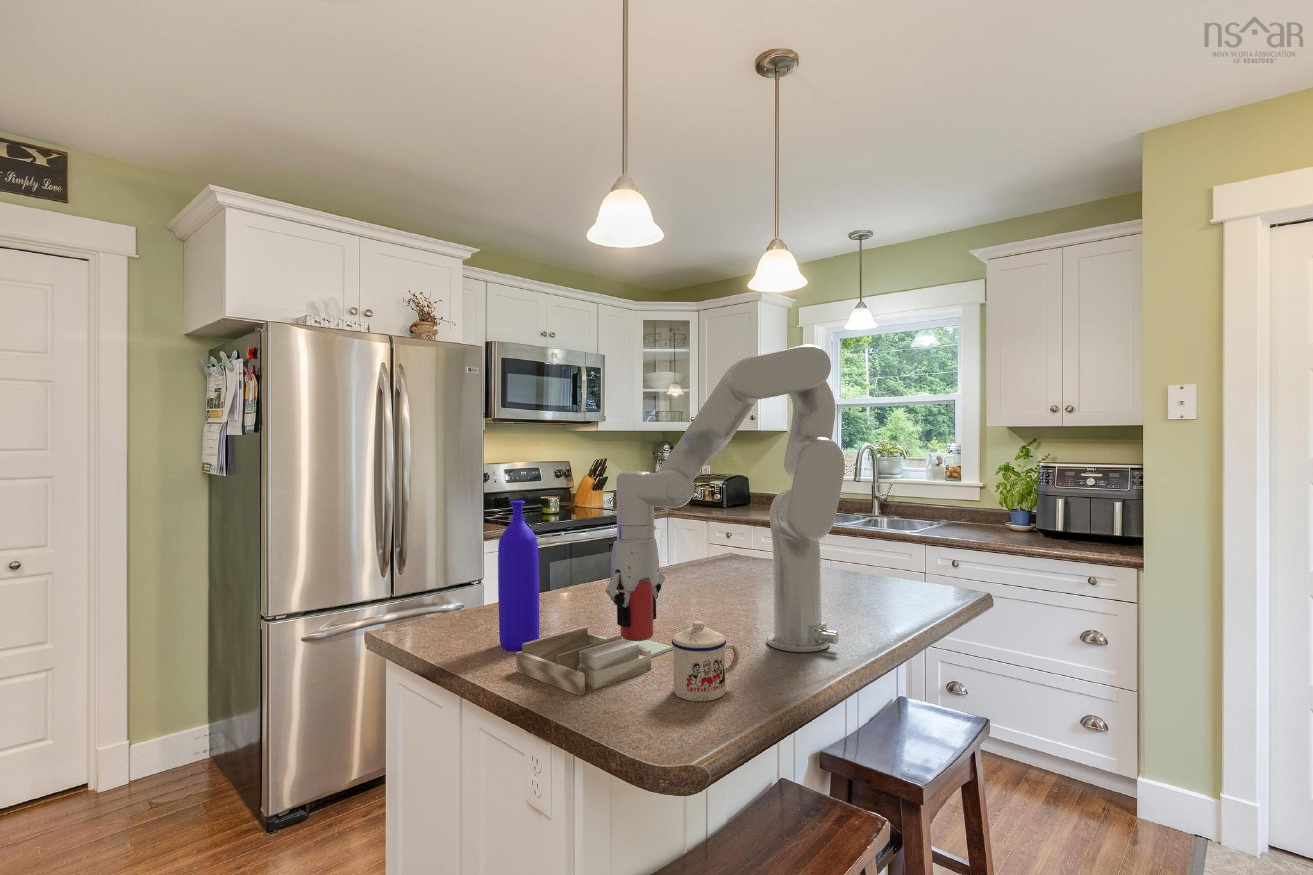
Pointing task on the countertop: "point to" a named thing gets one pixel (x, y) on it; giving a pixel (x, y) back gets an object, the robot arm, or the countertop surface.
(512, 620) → the bottle
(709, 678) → the teacup with lid
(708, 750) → the countertop surface
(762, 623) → the countertop surface
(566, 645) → the tray
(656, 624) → the countertop surface
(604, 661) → the offcut stack
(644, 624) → the beer can
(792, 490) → the robot arm
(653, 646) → the mat
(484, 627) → the countertop surface
